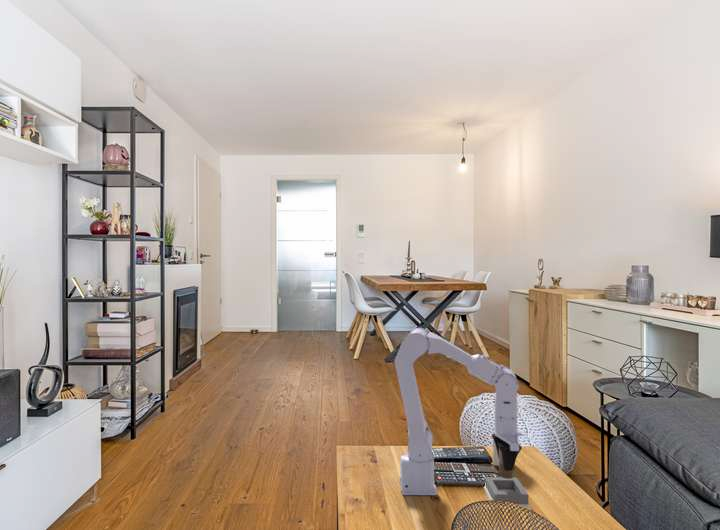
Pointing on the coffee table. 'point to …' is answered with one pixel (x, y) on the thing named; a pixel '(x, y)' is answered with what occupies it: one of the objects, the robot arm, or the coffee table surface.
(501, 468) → the walnut peg
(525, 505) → the socket board
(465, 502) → the coffee table surface
